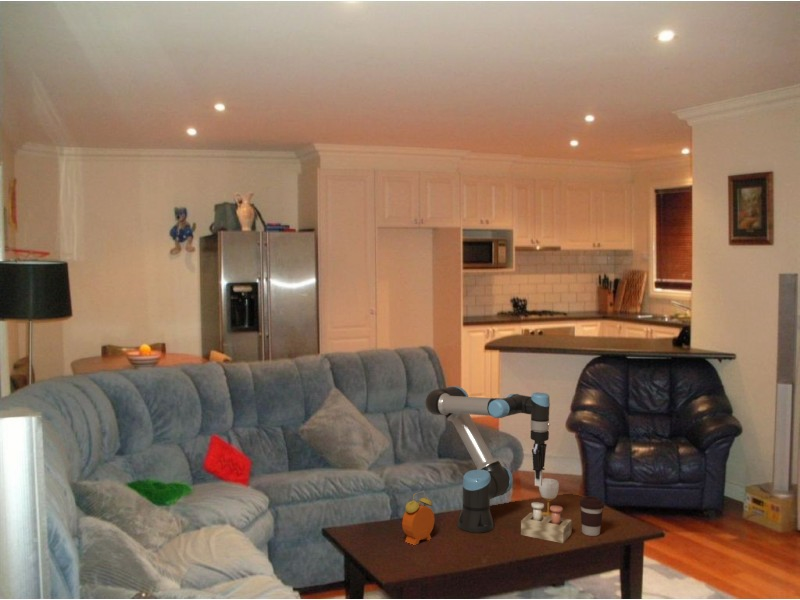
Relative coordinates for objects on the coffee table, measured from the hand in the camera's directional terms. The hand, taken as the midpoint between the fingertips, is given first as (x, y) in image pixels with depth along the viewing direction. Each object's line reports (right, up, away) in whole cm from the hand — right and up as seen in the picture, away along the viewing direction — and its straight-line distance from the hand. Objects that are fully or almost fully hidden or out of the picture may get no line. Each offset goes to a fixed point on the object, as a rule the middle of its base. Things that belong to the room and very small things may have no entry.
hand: (538, 485), depth 313 cm
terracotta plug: (+7, -17, -3) cm, 18 cm away
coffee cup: (+22, -21, +1) cm, 31 cm away
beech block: (+3, -20, -1) cm, 21 cm away
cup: (+8, -19, +21) cm, 30 cm away
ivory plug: (0, -16, +1) cm, 16 cm away
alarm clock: (-51, -20, -10) cm, 56 cm away
